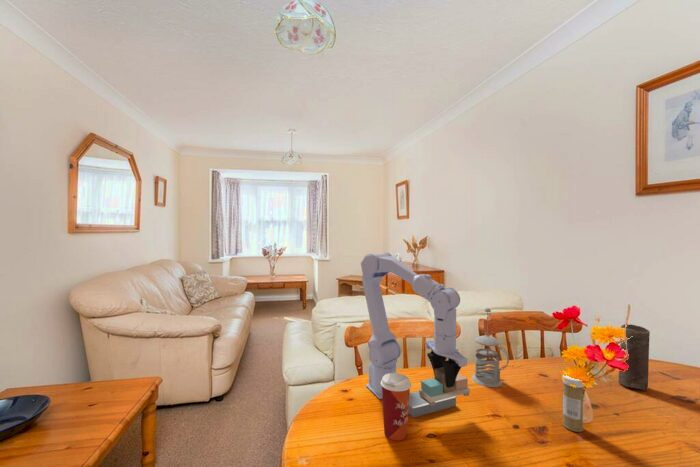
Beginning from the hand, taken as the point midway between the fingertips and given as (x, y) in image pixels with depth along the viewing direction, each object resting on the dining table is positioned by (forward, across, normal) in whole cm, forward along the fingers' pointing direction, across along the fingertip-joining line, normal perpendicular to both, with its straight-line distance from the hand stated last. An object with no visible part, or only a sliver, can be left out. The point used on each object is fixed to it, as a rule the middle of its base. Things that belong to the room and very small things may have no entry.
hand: (444, 382), depth 88 cm
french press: (+10, +11, -30) cm, 33 cm away
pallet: (+4, 0, 0) cm, 4 cm away
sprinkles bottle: (+10, -16, -28) cm, 34 cm away
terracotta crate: (+2, 0, -4) cm, 5 cm away
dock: (+10, +8, 0) cm, 12 cm away
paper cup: (+10, 0, +16) cm, 19 cm away
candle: (+10, -10, -70) cm, 72 cm away
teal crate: (+2, 0, +4) cm, 5 cm away
